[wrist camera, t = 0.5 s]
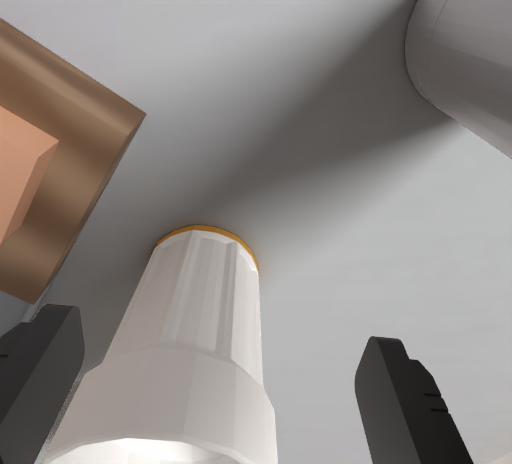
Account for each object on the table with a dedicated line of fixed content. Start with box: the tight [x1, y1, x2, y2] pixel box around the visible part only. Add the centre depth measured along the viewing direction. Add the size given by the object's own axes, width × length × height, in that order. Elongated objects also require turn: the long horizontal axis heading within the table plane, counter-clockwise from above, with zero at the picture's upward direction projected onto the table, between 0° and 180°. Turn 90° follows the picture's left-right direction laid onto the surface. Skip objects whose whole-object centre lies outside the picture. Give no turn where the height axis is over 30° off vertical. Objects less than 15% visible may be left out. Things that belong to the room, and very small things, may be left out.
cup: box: [41, 225, 278, 464], centre depth 25 cm, size 11×11×17 cm
